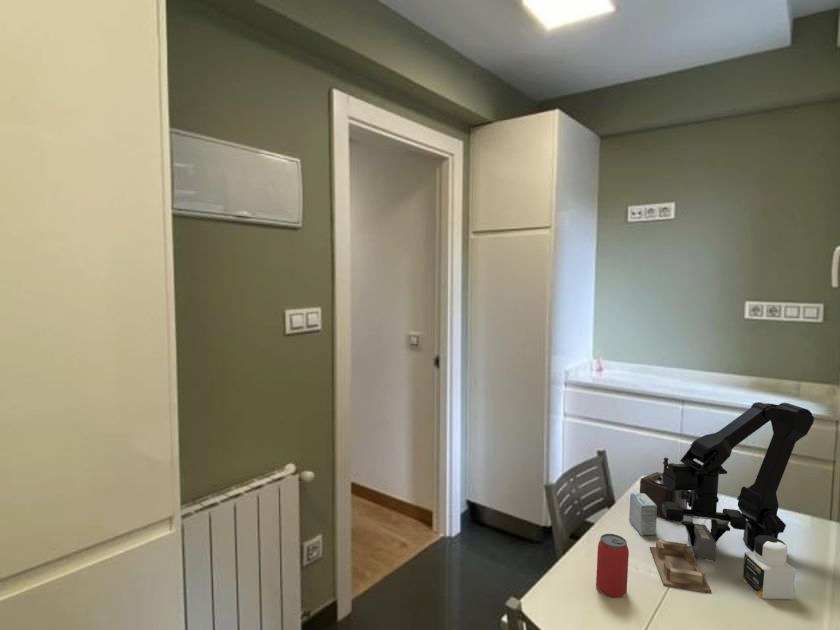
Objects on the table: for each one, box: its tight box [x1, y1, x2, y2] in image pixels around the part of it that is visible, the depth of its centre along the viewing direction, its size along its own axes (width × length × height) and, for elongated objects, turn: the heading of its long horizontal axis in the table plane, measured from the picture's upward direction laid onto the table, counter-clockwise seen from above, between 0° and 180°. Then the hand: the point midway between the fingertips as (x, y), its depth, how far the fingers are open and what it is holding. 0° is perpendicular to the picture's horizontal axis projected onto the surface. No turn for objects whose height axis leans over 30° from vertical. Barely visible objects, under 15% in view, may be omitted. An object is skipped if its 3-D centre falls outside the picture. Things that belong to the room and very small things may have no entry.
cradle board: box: [649, 539, 712, 594], centre depth 121 cm, size 10×16×3 cm, turn 166°
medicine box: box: [628, 492, 658, 536], centre depth 141 cm, size 8×4×9 cm, turn 179°
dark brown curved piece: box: [639, 456, 688, 520], centre depth 149 cm, size 16×11×18 cm
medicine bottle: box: [742, 535, 797, 600], centre depth 114 cm, size 7×7×12 cm
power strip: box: [687, 523, 717, 562], centre depth 130 cm, size 4×9×5 cm, turn 166°
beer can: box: [595, 533, 630, 599], centre depth 113 cm, size 7×7×12 cm
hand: (701, 546), depth 130 cm, fingers closed on power strip, 4 cm apart
